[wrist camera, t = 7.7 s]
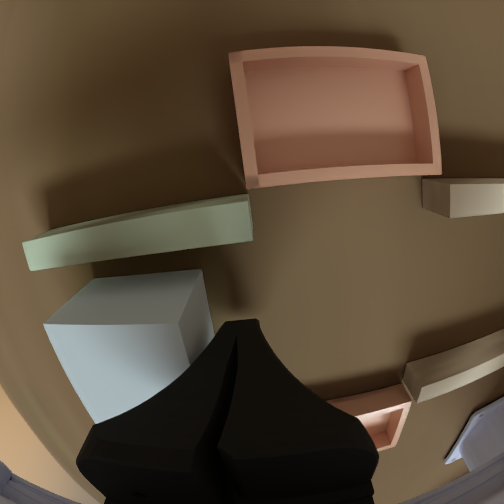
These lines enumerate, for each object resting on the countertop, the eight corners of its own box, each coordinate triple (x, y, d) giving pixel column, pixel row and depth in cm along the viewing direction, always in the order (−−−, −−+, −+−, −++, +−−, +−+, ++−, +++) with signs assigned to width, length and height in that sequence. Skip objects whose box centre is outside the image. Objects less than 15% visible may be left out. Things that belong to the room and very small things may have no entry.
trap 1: (401, 383, 13) (411, 400, 12) (388, 429, 15) (395, 446, 13) (276, 407, 14) (278, 428, 12) (281, 450, 15) (283, 469, 14)
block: (201, 268, 11) (178, 323, 7) (221, 368, 13) (212, 435, 9) (93, 278, 11) (43, 323, 8) (125, 368, 13) (96, 425, 9)
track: (575, 182, 9) (593, 187, 8) (554, 314, 13) (568, 325, 11) (49, 230, 11) (22, 242, 9) (118, 405, 14) (107, 429, 12)
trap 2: (406, 65, 9) (425, 55, 7) (421, 171, 10) (442, 174, 9) (231, 66, 9) (228, 52, 7) (247, 185, 10) (246, 189, 9)
